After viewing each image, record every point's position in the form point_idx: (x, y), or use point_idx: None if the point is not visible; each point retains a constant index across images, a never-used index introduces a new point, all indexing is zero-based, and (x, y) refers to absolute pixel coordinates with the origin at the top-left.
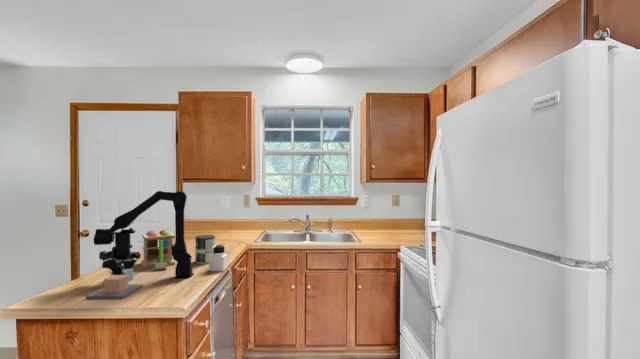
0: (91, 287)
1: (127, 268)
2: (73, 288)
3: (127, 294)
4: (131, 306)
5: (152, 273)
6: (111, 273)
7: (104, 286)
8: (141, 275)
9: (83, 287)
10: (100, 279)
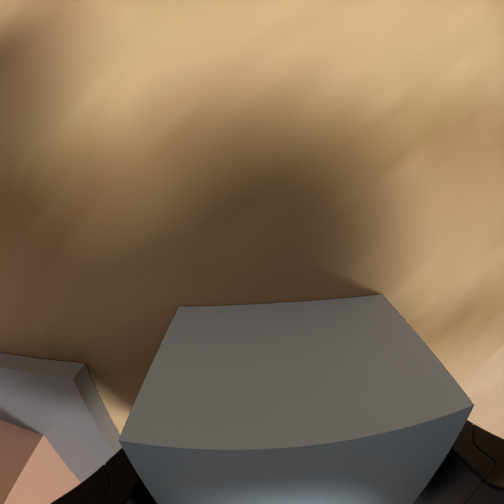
0: (18, 171)
1: (415, 497)
2: (3, 23)
3: None
4: None
5: (500, 417)
6: (133, 420)
7: None
8: (480, 392)
9: (16, 79)
10: (360, 5)
